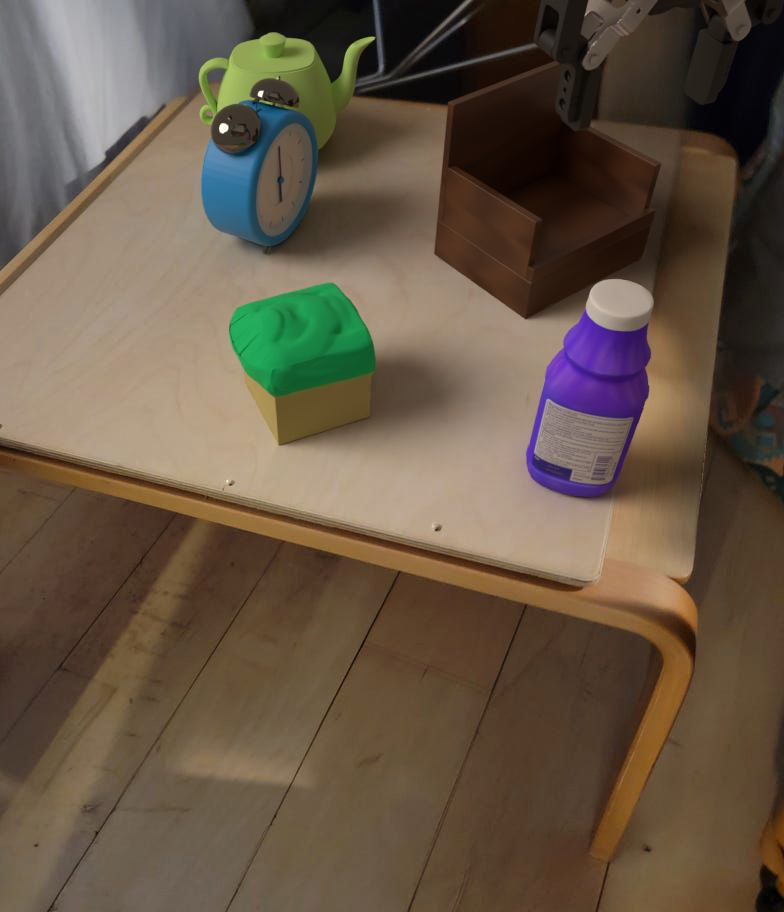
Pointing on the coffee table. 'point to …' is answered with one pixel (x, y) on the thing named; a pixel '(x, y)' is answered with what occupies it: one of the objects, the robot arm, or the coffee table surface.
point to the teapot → (285, 78)
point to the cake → (305, 360)
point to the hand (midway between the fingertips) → (637, 111)
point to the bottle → (593, 393)
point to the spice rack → (537, 195)
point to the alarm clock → (260, 165)
